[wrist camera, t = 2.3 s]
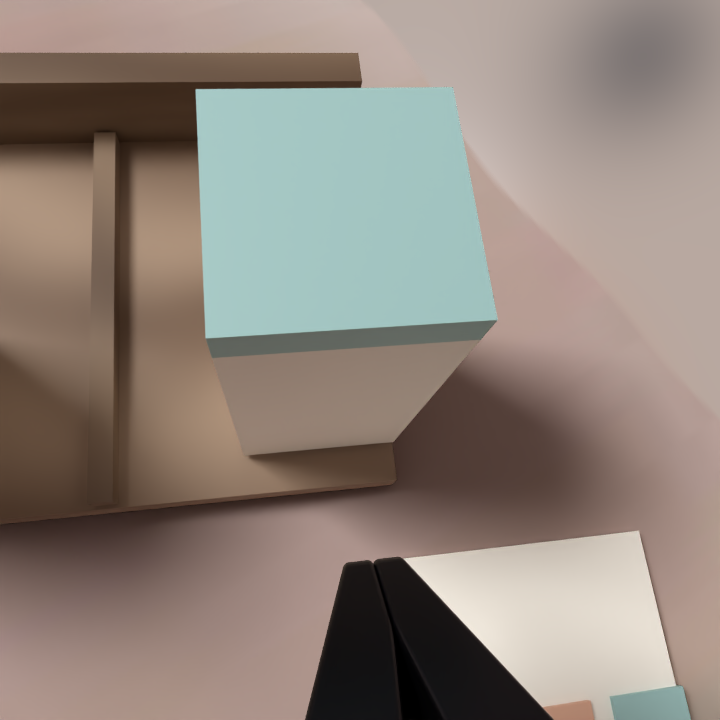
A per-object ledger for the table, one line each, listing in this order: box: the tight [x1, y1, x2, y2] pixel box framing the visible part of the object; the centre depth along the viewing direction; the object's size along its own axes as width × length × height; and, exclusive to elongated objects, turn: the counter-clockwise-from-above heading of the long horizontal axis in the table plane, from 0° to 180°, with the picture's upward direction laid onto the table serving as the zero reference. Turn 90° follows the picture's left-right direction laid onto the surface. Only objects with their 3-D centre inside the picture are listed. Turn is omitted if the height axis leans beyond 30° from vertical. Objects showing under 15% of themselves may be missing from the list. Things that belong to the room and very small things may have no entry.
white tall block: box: [196, 87, 498, 456], centre depth 13 cm, size 4×4×9 cm
